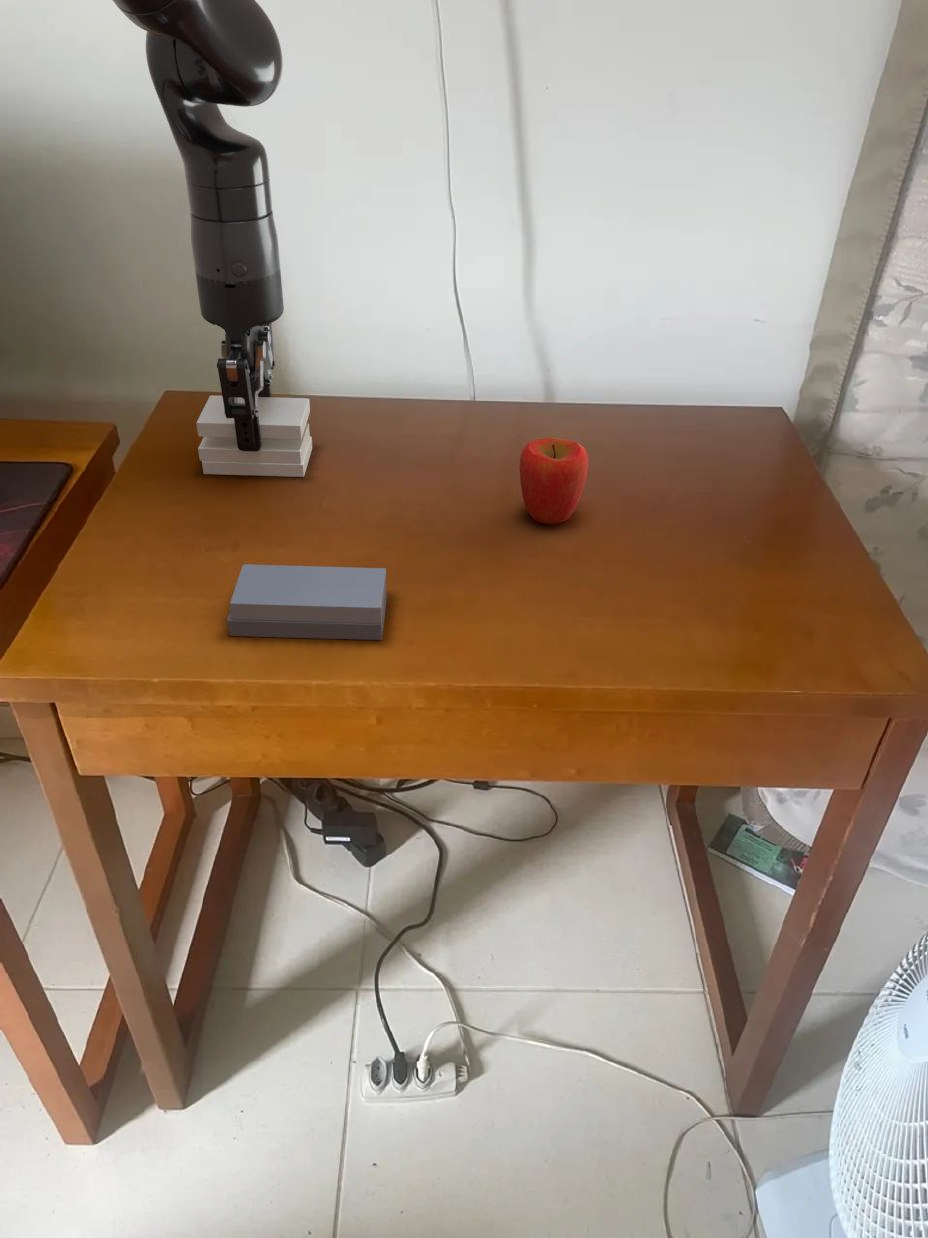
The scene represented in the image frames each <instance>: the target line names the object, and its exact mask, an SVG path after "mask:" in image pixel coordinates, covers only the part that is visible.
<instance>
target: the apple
mask: <svg viewBox="0 0 928 1238" xmlns="http://www.w3.org/2000/svg"><path fill="white" fill-rule="evenodd" d="M589 463H590V462H589V457H588V452H587V449H586V448H585V447H584V446H583V445H581V444H580V443H578V442H577V441H574V440H571V439H565V438H561V437H560V438H559V437H543V438H538V439H535V440H531V441H530V442H528V443H527V444H525V446H524V447H523V448H522V450H521V453H520V457H519V481H520V488H521V495H522V496H521V497H522V500H523V502H524V506H525V509H526V511H527V513H528V514H529V515H530V517H531V518H532V519H533V520H534V521H536V522H537V523H540V524H544V525H556V524H561V523H564V522H566V521H568V520H569V519H570V517H571V516H572V514H573V513H574V512H575V510H576V509H577V506H578V503H579V501H580V498H581V496H582V493H583V491H584V488H585V484H586V481H587V478H588V477H587V476H588V468H589Z"/></svg>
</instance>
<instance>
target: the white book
mask: <svg viewBox="0 0 928 1238" xmlns="http://www.w3.org/2000/svg"><path fill="white" fill-rule="evenodd" d="M238 403H245V401H244V399H243V398H238ZM310 403H311V402H310V398H309V397H308V398H304V397H275V396H274V397H273V396H272V397H258V408H259V413H258V416H259V426H260V435H261V438H266V439H300V440H301V439H302V436H303V433H304V430H305V426H306V423H307V424H308V419H309V416H310V413H311V406H310V405H311V404H310ZM195 424H196V430H197V437H233V438H236V430H235V422H234V418H226V415H225V409H224V403H223V397H222V395H209V397H208V399H207V400H206V403H205V405H204V407H203V409H202V410H201V413H200V415H199V417H198V419H197V421H196V423H195Z"/></svg>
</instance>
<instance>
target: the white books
mask: <svg viewBox="0 0 928 1238" xmlns="http://www.w3.org/2000/svg"><path fill="white" fill-rule="evenodd" d="M261 444H262V445H261V448H260V450H259V451H257V452H252V451H240V450H239V449H238V447H237V439H236V438H233V437H203V438H202V439H201V442H200V444H199V446H198V448H197V451H198V457H199V461H200V462H201V465H202V471H203V475H219V476H220V475H224V476H253V477H255V476H259V477H260V476H261V477H287V478H288V477H291V478H294V477H295V478H304V477H305V475H306V472H307V468H308V465H309V461H310V458H311V455H312V452H313V451H312V450H313V438H312V436H311V434H310V423H308V422H307V423H306V426H305V430H304V433H303V436H302V439H301V440H300V439H266V438H261Z"/></svg>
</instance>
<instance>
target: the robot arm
mask: <svg viewBox="0 0 928 1238" xmlns="http://www.w3.org/2000/svg"><path fill="white" fill-rule="evenodd" d="M111 1H112V2H113V3H114V4H115V6H116V7H117V8H118V9H119V10H120V11H121V13H122V14H123V15H124V16H125V18H127V19H128V20H129V21H130V22H132V23H133V24H134V25H135V26H137V27H138V28H140V29H141V30H143V31H146V34H145V56H146V63H147V68H148V73H149V75H150V78H151V80H152V85H153V87H154V90H155V92H156V95H157V98H158V100H159V103H160V106H161V108H162V111H163V114H164V116H165V119H166V121H167V123H168V126H169V128H170V132H171V134H172V137H173V140H174V142H175V144H176V147H177V149H178V152H179V154H180V157H181V160H182V164H183V169H184V176H185V184H186V191H187V198H188V206H189V207H188V208H189V212H190V214H189V215H190V243H191V251H192V257H193V265H194V273H195V278H196V288H197V294H198V301H199V308H200V315H201V316H202V318H203V319H204V320H205V321H206V322H207V323H209V324H211V325H213V326H217V327H219V328H221V329H222V330H223V331H224V332H225V335H224V338H225V339H221V341H220V356H221V358H218V359H217V362H216V368H217V373H218V378H219V383H220V390H221V391H220V392H221V396H222V397H223V403H224V409H225V415H226V418H234V422H235V430H236V439H237V447H238V449H239V450H240V451H252V452H257V451H259V450H260V448H261V445H262V444H261V435H260V426H259V416H258V413H259V408H258V397H273V396H272V388H271V387H272V386H271V383H272V381H273V378H274V375H273V373H272V371H273V370H275V366H276V361H275V355H274V339H273V338H274V337H273V325H272V324H273V323H274V322H277V320H279V319H280V318H281V317H282V315H283V314H284V309H285V307H284V306H285V305H284V297H283V295H284V294H283V284H282V271H281V261H280V249H279V238H278V232H277V227H276V223H275V218H274V211H273V202H272V190H271V179H270V167H269V166H270V165H269V158H268V154H267V150H266V148H265V146H264V144H263V143H262V142H261V141H260V140H258V139H256V138H255V137H253V136H251V135H249V134H247V133H244V132H242V131H239V130H237V128H234V127H232V126H231V125H230V124H229V123H228V122H227V121H226V120H225V117H224V116H223V114H222V111H221V110H220V107H219V105H225V106H232V107H242V108H248V107H249V108H250V107H255V106H259V105H261V104H263V103H265V102H266V101H268V100H269V99H270V98H271V97H273V95H274V94H275V92H276V91H277V89H278V87H279V85H280V82H281V80H282V75H283V67H284V66H283V64H284V63H283V51H282V48H281V47H282V46H281V43H280V39H279V36H278V33H277V31H276V29H275V27H274V24H273V23H272V21H271V20H270V18H269V16H268V15H267V13H266V12H265V10H264V9H263V7H262V6H261V5H260V4H259V2H257V1H256V0H111ZM238 398H243V399H244V401H245V403H238Z"/></svg>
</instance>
